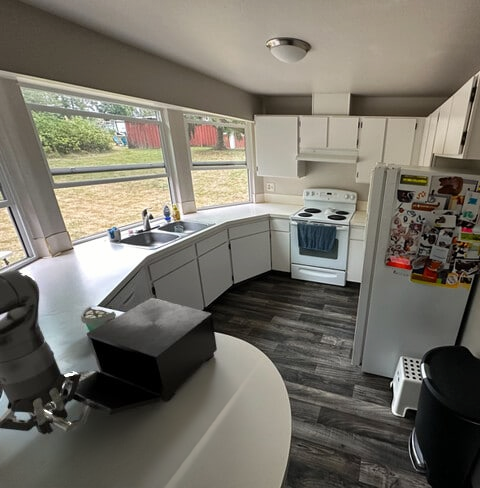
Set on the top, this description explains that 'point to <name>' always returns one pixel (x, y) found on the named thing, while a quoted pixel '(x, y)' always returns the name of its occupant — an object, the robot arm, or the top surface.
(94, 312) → the food container
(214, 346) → the oven
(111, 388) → the oven door
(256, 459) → the top surface
